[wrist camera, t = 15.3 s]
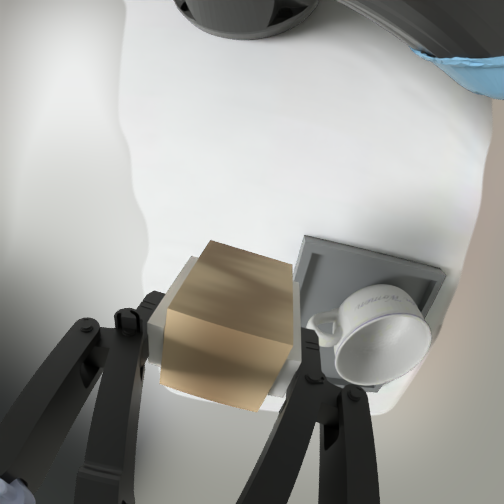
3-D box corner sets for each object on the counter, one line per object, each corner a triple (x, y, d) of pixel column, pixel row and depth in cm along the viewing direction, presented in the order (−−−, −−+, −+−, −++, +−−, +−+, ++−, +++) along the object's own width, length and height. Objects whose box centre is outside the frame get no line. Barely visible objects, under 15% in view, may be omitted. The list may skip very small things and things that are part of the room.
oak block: (195, 306, 19) (159, 383, 13) (210, 240, 17) (167, 308, 11) (267, 327, 19) (257, 412, 13) (292, 264, 17) (293, 345, 11)
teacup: (424, 293, 31) (450, 333, 24) (375, 353, 36) (388, 396, 28) (335, 245, 30) (349, 284, 23) (288, 319, 35) (287, 366, 27)
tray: (304, 235, 31) (305, 241, 29) (439, 268, 30) (446, 275, 28) (263, 369, 39) (262, 378, 38) (375, 384, 39) (377, 392, 37)
